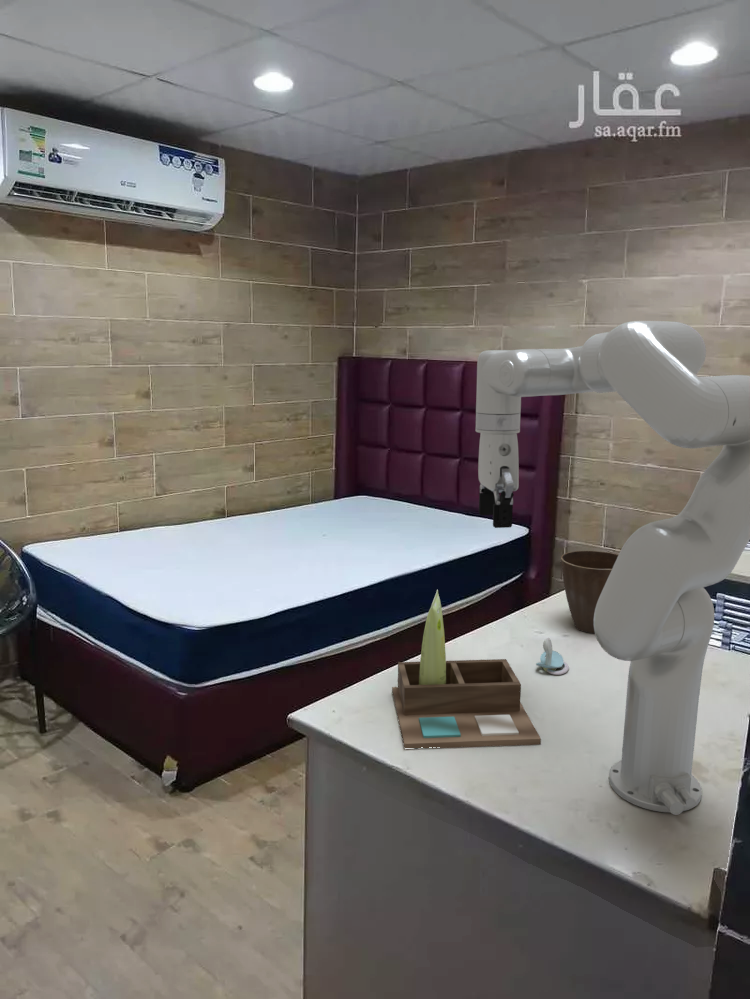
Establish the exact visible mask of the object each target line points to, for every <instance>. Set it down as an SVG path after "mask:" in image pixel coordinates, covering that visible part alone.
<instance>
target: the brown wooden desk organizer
mask: <svg viewBox="0 0 750 999" xmlns="http://www.w3.org/2000/svg"><path fill="white" fill-rule="evenodd" d="M419 673H420V661H398V662H397V686H392V687H391V689H392V690H391V691H392V692H391V693H393V694H392V698H393V701H394V702H395V703H394V707H396V708H395V712H396V711H397V712H396V715H397V716H398V717H397V716H396V717H397V721H398V720H399V721H398V726H399V725H400V726H399V730H401V731H400V735H401V734H402V735H401V739H402V738H403V740H402V743H404V745H403V748H404V747H405V748H421V747H423V748H429V747H432V749H434V748H433V747H436V748H435V749H438V748H437V747H440V748H439V749H453V748H454V749H457V748H476V747H477V748H478V747H479V748H480V747H483V748H484V747H509V746H531V745H532V746H533V745H538V746H539V745H542V744H541V743H542V738H541V736H540V735H539V732H538V731H537V729H536V728H535V726H534V724H533V722H532V720H531V718H530V717H529V715H528V713H527V711H526V710H525V708H524V706H523V703H522V702H521V697H522V696H521V694H522V693H521V692H522V684H521V682H520V681H519V679H518V677H517V675H516V673H515V671H514V670H513V668H512V667H511V664H509V662H508V659H506V658H499V659H498V658H496V659H470V660H469V659H465V660H464V659H462V660H446V684H434V685H419Z"/></svg>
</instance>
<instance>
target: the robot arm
mask: <svg viewBox="0 0 750 999" xmlns="http://www.w3.org/2000/svg"><path fill="white" fill-rule="evenodd" d="M706 348H707V347H706V343H705V340H704V338H703V337H702V334H700V333H699V332H698V330H696V329H695V328H693V326H691V325H689V324H686V323H683V322H680V321H670V320H668V321H667V320H664V321H663V320H633V321H632V320H631V321H627V322H623V323H621V324H619V325H617V326H616V327H614V328H613V329H611V330H610V331H606V332H601V333H596V334H594V335H592V336H590V337H589V338H588V339H587V340H586V341H585V342H584V344H583V345H581V346H576V347H568V348H566V347H565V348H523V349H522V348H521V349H510V350H509V349H495V350H494V349H491V350H487V349H486V350H483V351H482V352H480V353H479V354H478V357H477V364H476V395H475V396H476V397H475V398H476V399H475V400H476V402H475V432H476V433H479V434H480V437H479V447H478V463H477V465H478V467H477V470H478V473H477V474H478V481H479V484H480V485H479V493H478V496H479V497H478V499H479V500H478V514H479V515H480V516H492V526H493V528H494V529H498V528H499V529H501V528H502V529H504V528H505V529H507V528H511V527H512V526H513V512H514V511H513V510H514V509H513V508H514V492H516V491H517V490H518V489H519V486H520V485H519V483H520V482H519V479H520V478H519V476H520V475H519V474H520V472H519V471H520V470H519V468H520V467H519V466H520V465H519V463H520V462H519V460H520V458H519V442H518V434H519V433H520V432H521V409H522V398H526V397H539V396H541V397H542V396H562V395H564V396H565V395H571V394H572V395H573V394H582V393H592V392H594V393H598V394H604V393H605V394H606V393H615V392H616V393H617V394H618V395H619V396H620V397H621V398H622V400H623V401H625V403H626V404H628V406H629V407H630V408H632V409H633V411H634V412H635V413H636V414H637V415H638V416H639V417H640V418H641V419H642V420H643V421H644V422H645V423H646V424H647V425H648V426H649V427H650V428H651V429H652V430H653V431H654V432H655V433H656V434H657V435H659V437H661V438H662V439H663V440H665V441H666V442H668V443H670V444H671V445H674V446H676V447H679V448H682V449H701V448H702V449H703V448H709V447H718V446H722V449H721V451H720V452H719V454H718V455H717V456H716V457H715V459H714V460H713V461H712V462H711V463H710V464H709V465H708V466H707V468H706V469H705V470H704V471H703V473H702V474H701V476H700V477H699V479H698V481H697V483H696V485H695V486H694V489H693V492H692V493H691V496H690V497H689V499H688V501H687V503H686V505H685V506H684V507H683V509H682V510H681V511H680V512H679V513H678V514H677V515H674V516H672V517H670V518H664V519H659V520H655V521H651V522H649V523H647V524H643V525H642V526H640V527H638V528H637V529H636V530H635V531H634V532H633V533H632V534H631V535H630V536H629V537H628V538H627V540H626V541H625V542H624V543H623V545H622V548H621V549H620V551H619V553H618V557H617V560H616V562H615V564H614V566H613V568H612V571H611V573H610V575H609V577H608V579H607V581H606V584H605V586H604V588H603V590H602V592H601V595H600V597H599V599H598V602H597V605H596V608H595V612H594V631H595V633H594V634H595V638H596V640H597V642H598V643H599V645H600V647H601V649H602V650H603V651H604V652H605V653H606V654H608V655H609V656H611V657H612V658H614V659H616V660H621V661H626V662H628V661H629V662H630V663H629V666H628V667H629V668H628V674H627V688H626V695H625V696H626V698H625V700H626V701H625V711H624V724H623V725H624V726H623V736H622V751H621V760H619V761H617V762H616V763H614V764H613V765H612V766H611V768H610V769H609V774H608V775H609V777H608V780H609V784H610V786H611V789H612V790H613V791H614V792H615V793H616V794H617V795H618V796H620V797H621V798H622V799H623V800H625V801H626V802H628V803H630V804H633V805H635V806H637V807H639V808H642V809H645V810H649V811H653V812H660V813H671V814H672V815H674V816H677V815H680V814H682V813H683V812H686V811H689V810H691V809H693V808H694V807H696V806H698V805H699V803H700V801H701V799H702V792H703V790H702V786H701V783H700V782H699V781H698V779H697V778H696V777H695V776H694V775H693V774H692V772H693V771H692V770H693V764H694V763H693V762H694V753H695V752H694V751H695V741H696V731H697V721H698V712H699V711H698V710H699V703H700V702H699V700H700V695H701V693H700V692H701V687H702V686H701V683H702V677H703V675H702V674H703V668H704V663H705V659H706V658H705V657H706V655H707V651H708V648H709V643H710V640H711V638H712V634H713V629H714V624H715V608H714V603H713V600H712V598H711V596H710V594H709V593H708V591H707V589H705V588H706V587H709V586H712V585H716V584H718V583H720V582H722V581H723V580H725V579H726V578H728V577H729V576H730V575H731V573H732V572H733V570H734V569H735V567H736V565H737V564H738V562H739V559H740V558H741V556H742V554H743V552H744V550H745V548H746V547H747V545H748V543H749V542H750V375H747V374H746V375H745V374H744V375H743V374H731V375H730V374H729V375H727V374H726V375H715V376H714V375H713V376H711V375H710V376H698V375H697V374H698V373H699V371H701V369H702V367H703V366H704V364H705V361H706V354H707V349H706Z"/></svg>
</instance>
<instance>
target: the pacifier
mask: <svg viewBox="0 0 750 999" xmlns="http://www.w3.org/2000/svg"><path fill="white" fill-rule="evenodd" d="M542 648H543V651H544V652H542V654H541V655H540V658H539V659H540V662H537V663H535V665H536V666H538V667H541V668H542V669H543V671H544V672H548V673H549V674H551V675H553V676H560V675H561V676H562V675H564V674H566V673H567V672H568V671H569V670H570V667H569V664H568V663H567V662H565V661H564V658H563V656H562V654H560V653H559V652H558V651H555V650H553V643H552V641H551V639H550V638H549V637H548V638H545V639H544V641H543V644H542ZM562 667H564V668H563V669H561V670H556V669H560V668H562Z"/></svg>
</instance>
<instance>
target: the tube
mask: <svg viewBox="0 0 750 999" xmlns="http://www.w3.org/2000/svg"><path fill="white" fill-rule="evenodd" d="M435 592H436V593H435V595H434V598H433V600H432V603H431V605H430V608H429V610H428V613H427V616H426V620H425V626H424V630H423V636H422V643H421V652H420V661H419V662H420V673H419V685H434V684H446V661H447V659H446V641H445V638H446V637H445V628H444V618H443V610H442V604H441V603H442V602H441V599H440V596H439V595H440V594H439V590H438V589H436V591H435Z"/></svg>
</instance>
